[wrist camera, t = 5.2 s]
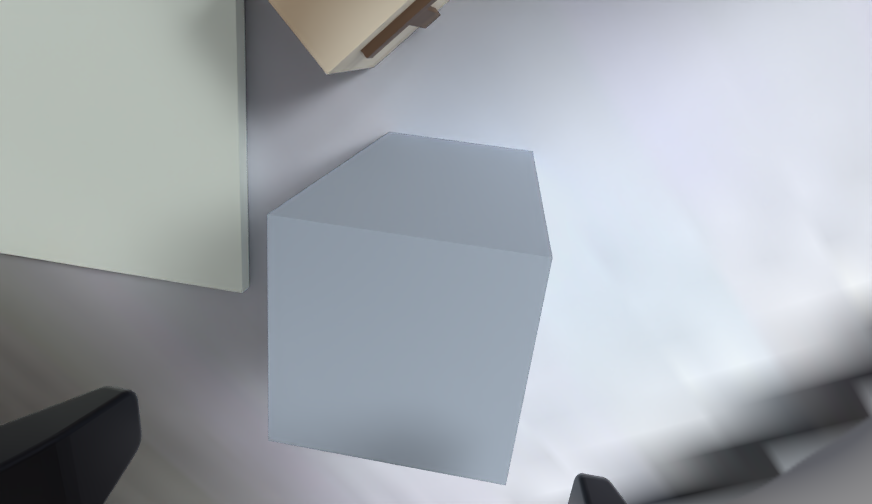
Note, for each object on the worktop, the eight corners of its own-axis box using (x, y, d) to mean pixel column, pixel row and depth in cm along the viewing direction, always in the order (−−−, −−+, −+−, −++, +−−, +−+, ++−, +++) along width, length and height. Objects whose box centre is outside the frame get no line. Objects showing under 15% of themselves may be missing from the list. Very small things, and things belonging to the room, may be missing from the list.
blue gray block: (532, 151, 18) (552, 257, 9) (509, 283, 20) (505, 485, 11) (389, 132, 19) (266, 214, 9) (379, 263, 21) (268, 440, 11)
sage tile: (244, -15, 18) (235, -18, 17) (249, 286, 22) (242, 293, 21) (-61, -51, 18) (-79, -54, 18) (-1, 245, 23) (-14, 250, 22)
